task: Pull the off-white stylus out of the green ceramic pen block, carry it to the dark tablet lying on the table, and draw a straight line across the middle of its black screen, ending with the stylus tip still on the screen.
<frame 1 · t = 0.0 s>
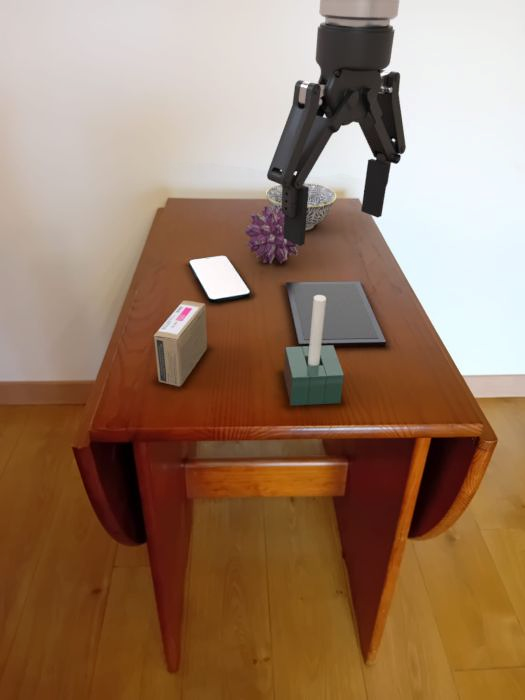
hand: (334, 227, 65), 24 cm above the table, tool pointing down, fingers open, 13 cm apart
stylus: (315, 345, 73), in the pen block
smartphone: (218, 280, 103), on the table
tablet: (331, 314, 94), on the table
bowl: (299, 225, 126), on the table
pen block: (311, 388, 77), on the table
flower: (273, 261, 110), on the table
ink box: (184, 366, 81), on the table
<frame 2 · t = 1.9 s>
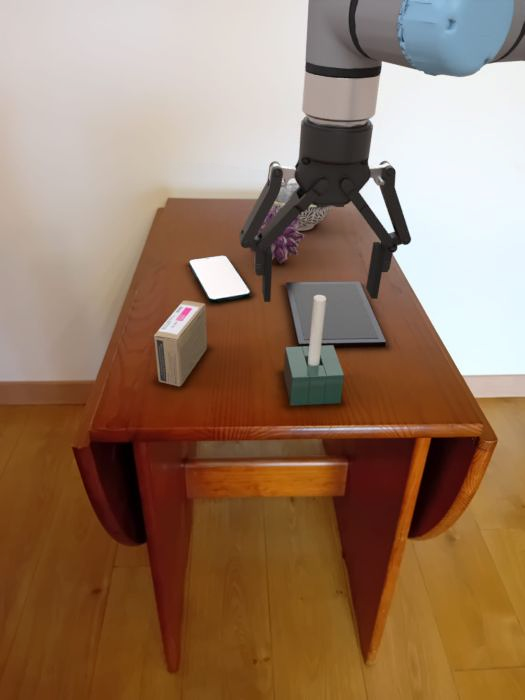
hand: (319, 295, 68), 15 cm above the table, tool pointing down, fingers open, 13 cm apart
nothing on the table moved.
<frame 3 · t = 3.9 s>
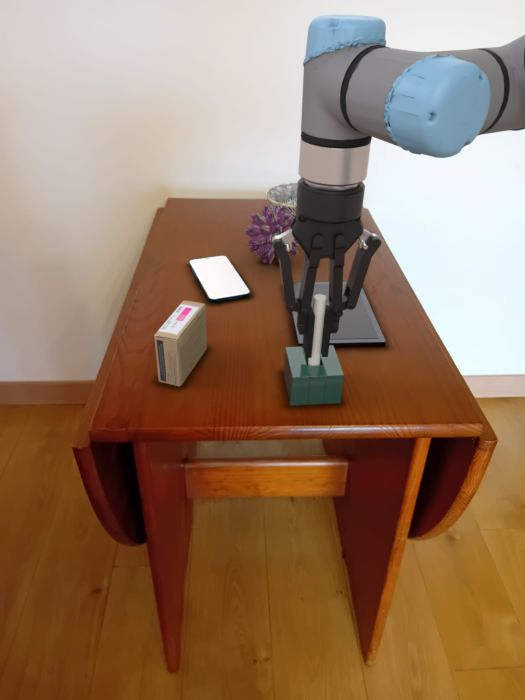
hand: (315, 351, 73), 7 cm above the table, tool pointing down, fingers closed on stylus, 1 cm apart
stylus: (315, 345, 73), in the pen block, touching gripper
everything else where it was.
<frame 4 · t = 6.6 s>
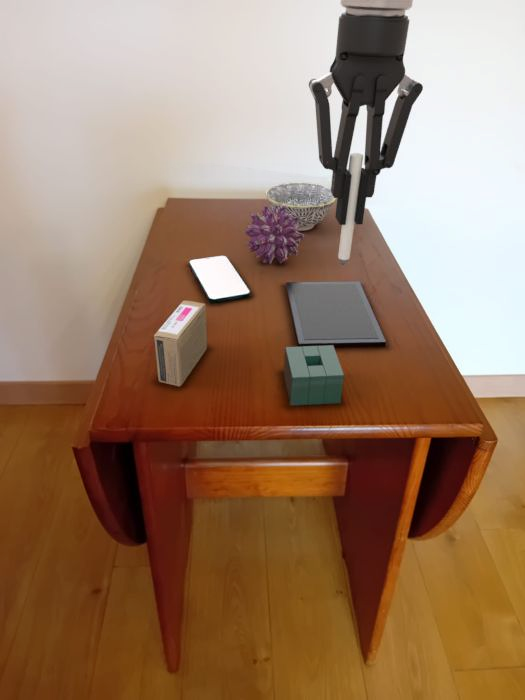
hand: (348, 220, 72), 22 cm above the table, tool pointing down, fingers closed on stylus, 2 cm apart
stylus: (349, 212, 71), point 23 cm above the table, touching gripper
everything else where it was.
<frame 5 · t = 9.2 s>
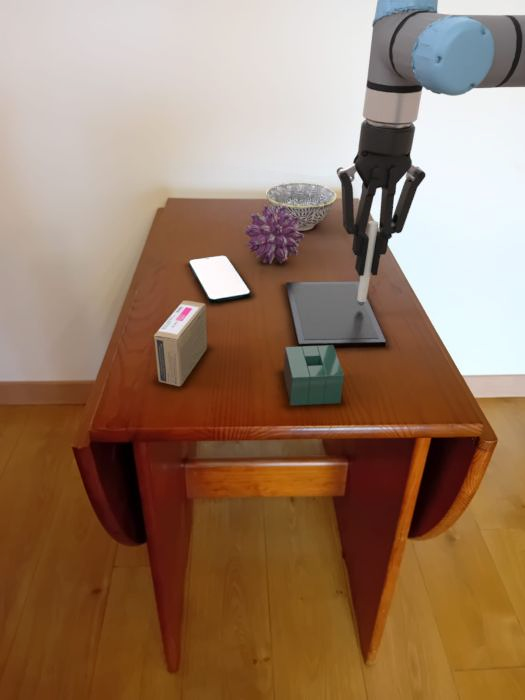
hand: (366, 271, 89), 8 cm above the table, tool pointing down, fingers closed on stylus, 1 cm apart
stylus: (366, 265, 89), point 9 cm above the table, touching gripper
everything else where it was.
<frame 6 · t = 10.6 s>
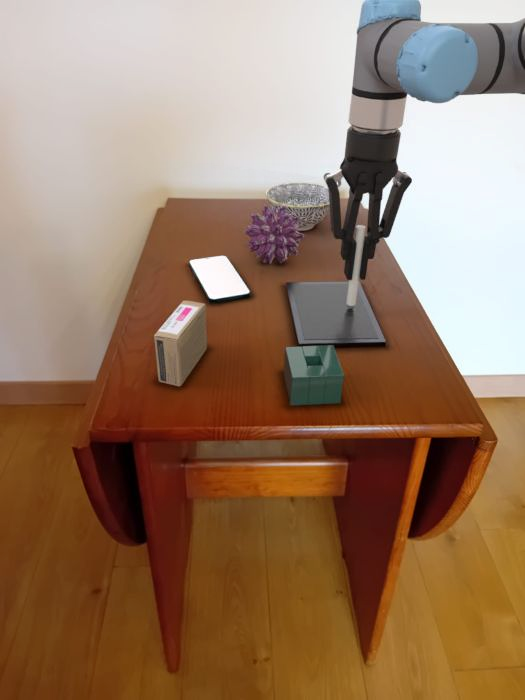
hand: (354, 275, 90), 7 cm above the table, tool pointing down, fingers closed on stylus, 1 cm apart
stylus: (355, 269, 89), point 9 cm above the table, touching gripper, tablet
everything else where it was.
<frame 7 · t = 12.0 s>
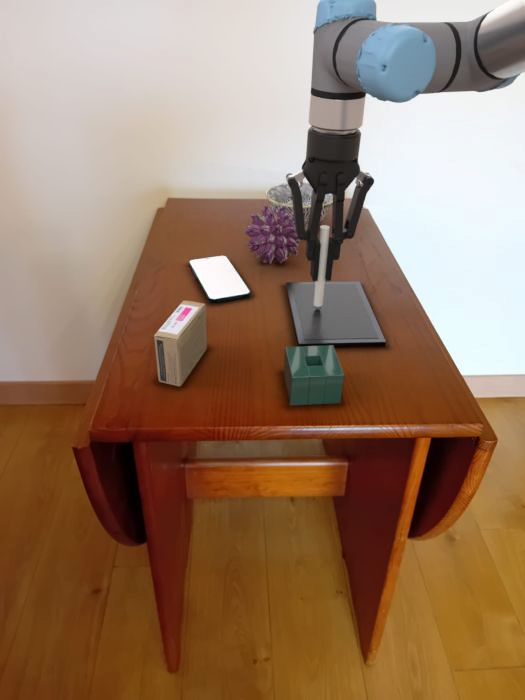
hand: (320, 276, 89), 7 cm above the table, tool pointing down, fingers closed on stylus, 1 cm apart
stylus: (321, 270, 89), point 9 cm above the table, touching gripper
everything else where it was.
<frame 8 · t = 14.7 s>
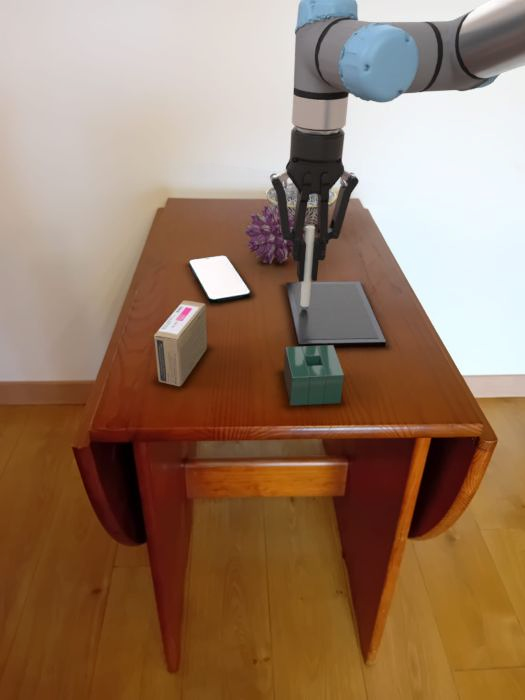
hand: (306, 276, 89), 7 cm above the table, tool pointing down, fingers closed on stylus, 1 cm apart
stylus: (307, 270, 88), point 9 cm above the table, touching gripper, tablet
everything else where it was.
at the end: the gripper is holding stylus; stylus touching gripper, tablet; stylus 0.1 cm from the target spot on the tablet, point 8.6 cm above the tablet's base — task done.
